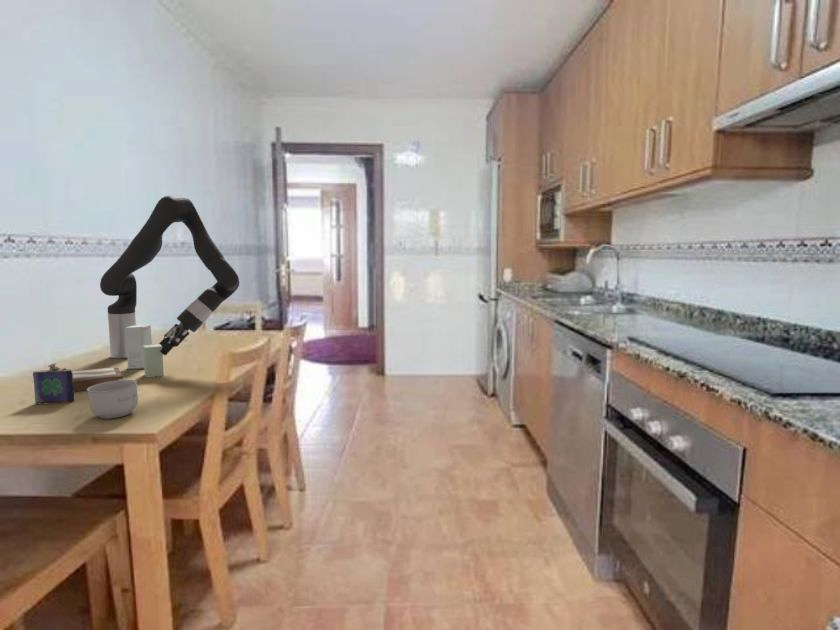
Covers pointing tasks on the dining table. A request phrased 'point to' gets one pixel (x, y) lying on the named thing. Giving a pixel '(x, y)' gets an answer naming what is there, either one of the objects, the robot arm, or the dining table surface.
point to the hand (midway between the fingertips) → (160, 351)
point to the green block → (153, 360)
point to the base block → (94, 377)
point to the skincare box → (137, 344)
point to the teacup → (113, 398)
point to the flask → (53, 385)
